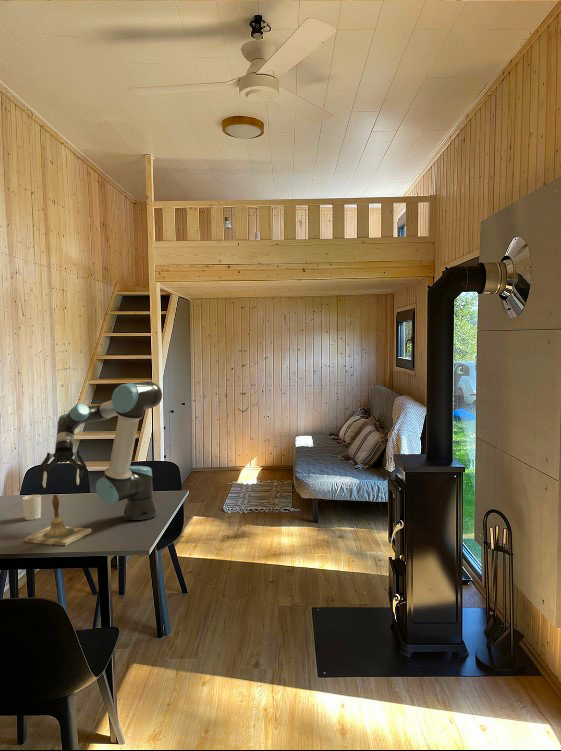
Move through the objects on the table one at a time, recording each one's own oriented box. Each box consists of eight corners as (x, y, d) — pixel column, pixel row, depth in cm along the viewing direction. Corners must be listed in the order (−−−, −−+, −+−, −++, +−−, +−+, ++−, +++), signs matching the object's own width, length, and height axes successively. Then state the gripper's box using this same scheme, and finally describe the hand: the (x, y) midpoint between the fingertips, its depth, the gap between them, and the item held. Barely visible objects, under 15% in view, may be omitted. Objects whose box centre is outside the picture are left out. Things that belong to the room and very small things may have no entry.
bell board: (91, 532, 230) (91, 528, 229) (66, 545, 214) (66, 541, 214) (52, 528, 235) (52, 525, 235) (24, 541, 220) (24, 537, 220)
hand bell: (47, 537, 219) (45, 498, 218) (46, 531, 227) (44, 494, 226) (69, 534, 223) (67, 495, 222) (67, 528, 230) (65, 491, 230)
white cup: (34, 521, 247) (33, 499, 247) (19, 520, 249) (18, 499, 248) (45, 515, 255) (44, 494, 254) (30, 515, 256) (29, 494, 256)
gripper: (94, 447, 253) (92, 486, 239) (36, 451, 248) (31, 491, 234) (92, 437, 248) (90, 477, 234) (33, 441, 242) (28, 482, 228)
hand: (60, 484), depth 234 cm, fingers open, 13 cm apart
